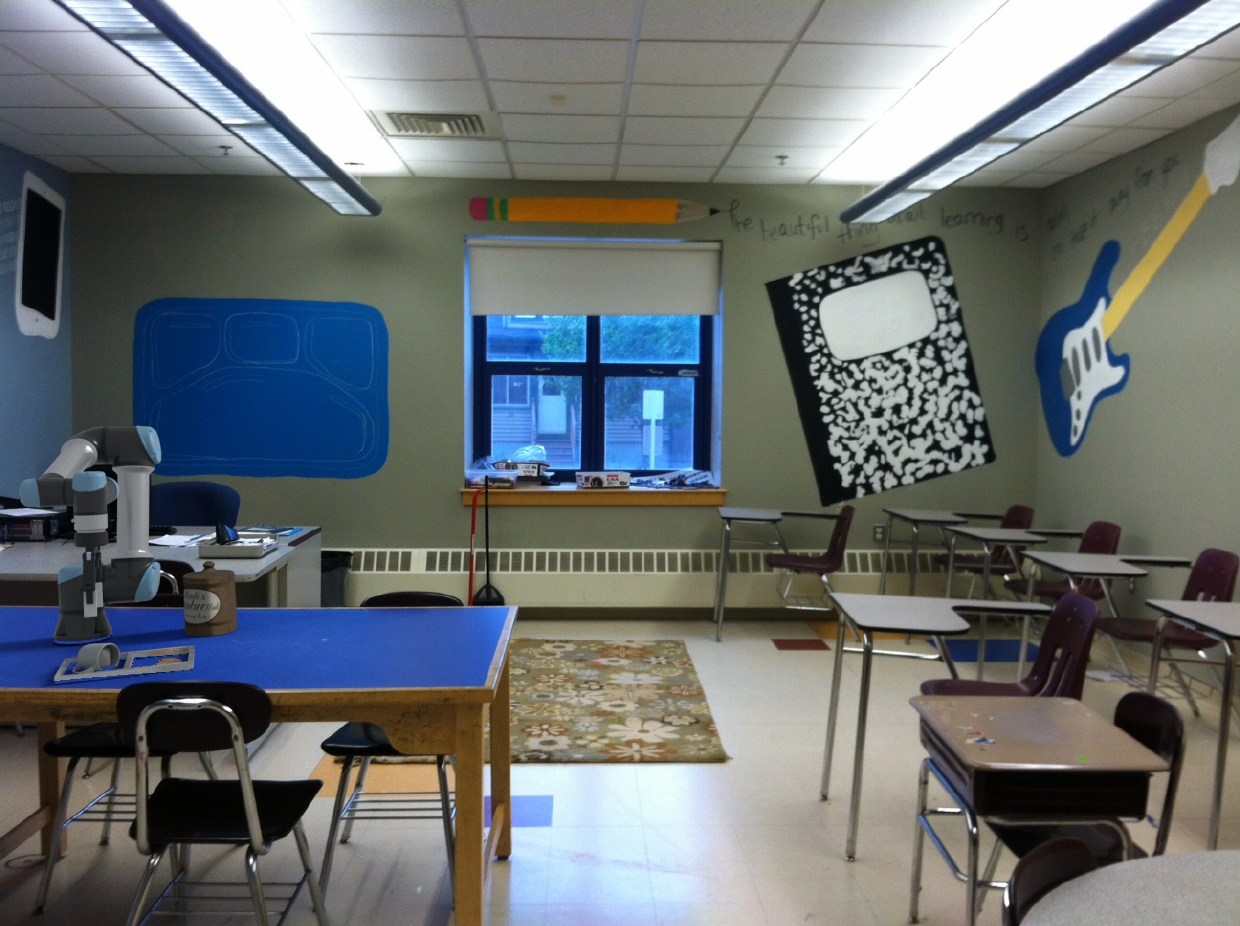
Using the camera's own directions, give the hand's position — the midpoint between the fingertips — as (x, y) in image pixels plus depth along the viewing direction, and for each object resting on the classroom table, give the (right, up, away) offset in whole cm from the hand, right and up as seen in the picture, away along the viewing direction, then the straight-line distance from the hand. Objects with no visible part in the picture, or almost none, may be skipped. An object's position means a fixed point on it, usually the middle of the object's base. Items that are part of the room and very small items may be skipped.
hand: (93, 611), depth 232 cm
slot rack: (+7, -16, +4) cm, 18 cm away
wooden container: (+10, -14, +44) cm, 48 cm away
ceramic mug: (0, -16, +1) cm, 16 cm away
